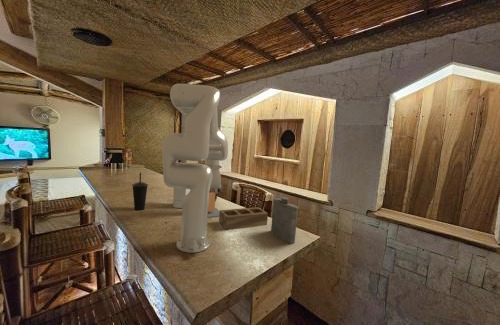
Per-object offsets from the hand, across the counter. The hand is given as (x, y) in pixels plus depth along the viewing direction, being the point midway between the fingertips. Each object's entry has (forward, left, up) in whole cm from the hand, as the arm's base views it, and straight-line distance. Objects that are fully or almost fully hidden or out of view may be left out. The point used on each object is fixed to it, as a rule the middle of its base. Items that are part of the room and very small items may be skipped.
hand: (210, 200), depth 120 cm
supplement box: (+16, +12, -8) cm, 21 cm away
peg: (0, 0, -5) cm, 5 cm away
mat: (0, 0, -7) cm, 7 cm away
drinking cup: (+16, +34, -7) cm, 38 cm away
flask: (-37, -22, -8) cm, 44 cm away
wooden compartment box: (-18, -12, -7) cm, 23 cm away
